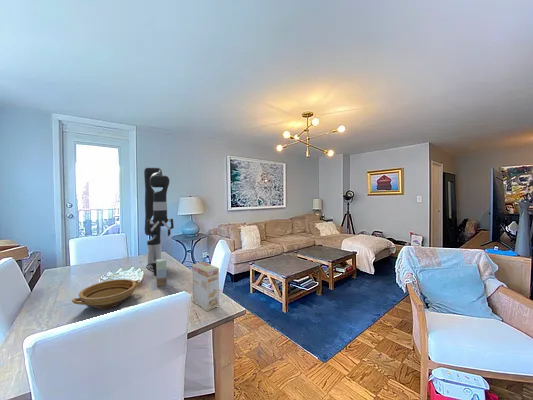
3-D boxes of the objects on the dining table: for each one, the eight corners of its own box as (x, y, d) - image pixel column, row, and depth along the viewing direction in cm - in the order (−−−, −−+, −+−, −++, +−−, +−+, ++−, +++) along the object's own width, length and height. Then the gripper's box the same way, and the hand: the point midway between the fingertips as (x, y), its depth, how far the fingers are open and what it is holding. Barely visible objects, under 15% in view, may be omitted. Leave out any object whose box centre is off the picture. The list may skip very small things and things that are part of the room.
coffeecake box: (219, 306, 115) (219, 267, 114) (206, 312, 110) (206, 271, 109) (204, 296, 125) (204, 261, 125) (192, 301, 120) (191, 264, 120)
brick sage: (156, 267, 139) (156, 259, 139) (165, 266, 142) (165, 258, 142) (157, 270, 135) (156, 261, 135) (166, 268, 138) (166, 260, 137)
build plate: (150, 284, 141) (150, 283, 141) (171, 281, 147) (171, 279, 147) (150, 292, 131) (150, 290, 131) (173, 288, 136) (173, 286, 136)
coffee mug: (169, 273, 161) (168, 259, 160) (162, 278, 152) (162, 263, 152) (153, 273, 162) (152, 258, 161) (145, 277, 153) (145, 262, 153)
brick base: (156, 284, 140) (156, 276, 140) (165, 282, 142) (165, 274, 142) (157, 287, 136) (157, 278, 135) (166, 285, 138) (166, 277, 138)
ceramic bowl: (130, 287, 137) (129, 274, 137) (150, 299, 123) (149, 284, 122) (65, 307, 114) (64, 291, 114) (80, 324, 99) (80, 306, 99)
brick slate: (156, 275, 140) (156, 267, 140) (165, 274, 142) (165, 266, 142) (157, 278, 135) (157, 270, 135) (166, 277, 138) (166, 268, 138)
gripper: (172, 208, 144) (172, 234, 144) (146, 209, 137) (147, 236, 138) (173, 209, 137) (174, 236, 138) (146, 210, 130) (147, 238, 131)
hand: (160, 236), depth 138 cm, fingers open, 8 cm apart
